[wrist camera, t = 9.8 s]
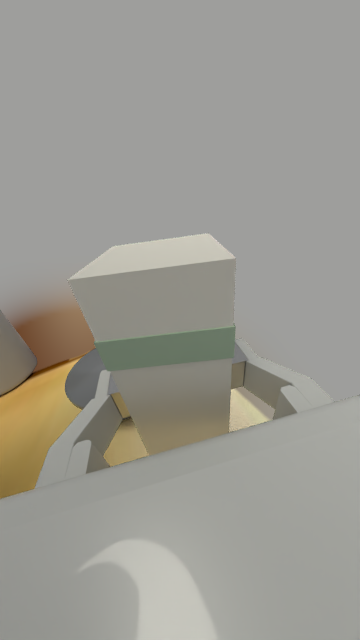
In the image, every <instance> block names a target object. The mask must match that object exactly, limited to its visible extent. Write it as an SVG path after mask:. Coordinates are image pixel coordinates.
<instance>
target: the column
mask: <svg viewBox="0 0 360 640" xmlns="http://www.w3.org/2000/svg"><path fill="white" fill-rule="evenodd" d="M235 270H236V258H235V257H234V256H233V255H232V254H231V253H230V252H229V251H228V250H226V249H225V248H224V247H223V246H222V245H221V244H220V243H218V241H216V240H215V239H214V238H213V237H212V236H211V235H210V234H200V235H192V236H185V237H178V238H170V239H163V240H156V241H149V242H141V243H134V244H126V245H119V246H113V247H112V248H110V249H109V250H107V251H106V252H105V253H103V254H102V255H101V256H99V257H98V258H97V259H95V260H94V261H92V262H91V263H90V264H88V265H87V266H86V267H84V268H83V269H81V270H80V271H79V272H77V273H76V274H75V275H73V276H72V277H71V278H69V279H68V280H67V281H68V283H69V285H70V287H71V289H72V291H73V293H74V296H75V298H76V300H77V302H78V304H79V306H80V308H81V311H82V313H83V315H84V317H85V319H86V321H87V323H88V325H89V328H90V330H91V332H92V334H93V336H94V338H95V342H94V344H95V347H96V349H97V351H98V353H99V355H100V357H101V359H102V361H103V363H104V365H105V368H106V370H107V371H110V373H111V375H112V377H113V379H114V381H115V383H116V386H117V388H118V390H119V392H120V394H121V396H122V398H123V401H124V403H125V405H126V407H127V409H128V411H129V413H130V416H131V418H132V420H133V422H134V424H135V426H136V428H137V430H138V433H139V435H140V437H141V439H142V441H143V443H144V445H145V448H146V450H147V452H148V454H149V456H150V455H153V454H157V453H160V452H164V451H167V450H171V449H174V448H178V447H181V446H184V445H188V444H191V443H195V442H198V441H202V440H205V439H209V438H212V437H216V436H219V435H222V434H226V433H229V419H230V395H231V370H232V358H234V348H235V325H234V323H233V320H234V295H235Z"/></svg>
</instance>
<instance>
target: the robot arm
mask: <svg viewBox="0 0 360 640" xmlns="http://www.w3.org/2000/svg"><path fill="white" fill-rule="evenodd" d="M243 386H244V388H246V389H247V390H248V391H250V392H251V393H253V394H254V395H255V396H257V397H258V398H260V399H261V400H263V401H264V402H265V403H267V404H268V405H270V406H271V407H272V408H274V409H275V413H274V416H273V420H271V421H268V422H264V423H261V424H257V425H254V426H250V427H247V428H243V429H240V430H236V431H233V432H229V433H226V434H222V435H219V436H216V437H212V438H209V439H205V440H202V441H198V442H195V443H191V444H188V445H184V446H181V447H178V448H174V449H171V450H167V451H164V452H160V453H157V454H153V455H150V456H146V457H143V458H140V459H136V460H133V461H129V462H126V463H122V464H119V465H115V466H112V467H110V466H109V464H108V463H107V462H106V460H105V459H104V458H103V455H104V453H105V451H106V450H107V448H108V446H109V444H110V442H111V440H112V438H113V436H114V435H115V433H116V431H117V429H118V427H119V425H120V423H121V421H122V420H123V419H122V418H125V417H128V416H130V413H129V411H128V409H127V407H126V405H125V403H124V401H123V398H122V396H121V394H120V392H119V390H118V388H117V386H116V383H115V381H114V379H113V377H112V375H111V373H110V371H107V370H103V371H101V373H100V376H99V381H98V386H97V390H96V395H95V399H91V401H90V402H89V403H88V404H87V405H86V406H85V408H84V409H83V410H82V411H81V412H80V413H79V415H78V416H77V417H76V418H75V419H74V420H73V422H72V423H71V424H70V425H69V426H68V427H67V429H66V430H65V431H64V432H63V433H62V434H61V436H60V437H59V438H58V439H57V440H56V441H55V443H54V444H53V445H52V446H51V447H50V448H49V450H48V453H47V456H46V458H45V461H44V464H43V467H42V470H41V472H40V475H39V478H38V481H37V483H36V486H35V489H32V490H29V491H25V492H22V493H18V494H15V495H12V496H8V497H5V498H1V499H0V640H360V395H357V396H354V397H351V398H347V399H344V400H340V401H337V402H335V401H334V400H333V399H332V398H331V397H330V396H329V395H328V394H327V393H326V392H325V391H324V390H323V389H322V388H321V387H319V386H318V385H317V384H316V383H315V382H314V381H313V380H312V379H311V378H309V377H306V376H304V375H302V374H299V373H297V372H295V371H293V370H290V369H288V368H286V367H283V366H281V365H279V364H276V363H274V362H272V361H269V360H267V359H264V358H262V357H261V358H259V357H258V356H257V355H256V354H255V352H254V351H253V350H252V349H251V348H250V346H249V345H248V344H247V343H246V342H245V341H244V339H242V338H240V339H236V340H235V348H234V358H232V370H231V389H234V388H238V387H243Z"/></svg>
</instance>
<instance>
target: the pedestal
mask: <svg viewBox="0 0 360 640" xmlns="http://www.w3.org/2000/svg"><path fill="white" fill-rule="evenodd" d="M103 370H106V368H105V365H104V363H103V361H102V359H101V357H100V355H99V353H98V351H97V349H96V348H95V349H94V350H92V351H90V352H89V353H87V354H86V355H85V356H83V357H82V358H81V359H80V360H79V361H78V362H77V363H76V364H75V365H74V367H73V368H72V369H71V371H70V372H69V374H68V376H67V379H66V382H65V392H66V395H67V397H68V398H69V400H70V401H71V402H72V403H73V405H75V406H76V407H77V408H80V409H82V410H83V409H84V408H85V406H86V405H87V404H88V403H89V402H90V401H91V399H95V395H96V390H97V386H98V381H99V376H100V373H101V371H103ZM130 417H131V416H128V417H125V418H122V419H123V420H125V419H128V418H130Z"/></svg>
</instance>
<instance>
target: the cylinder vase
mask: <svg viewBox="0 0 360 640" xmlns="http://www.w3.org/2000/svg"><path fill="white" fill-rule="evenodd" d="M36 365H37V358H36V356H35V355H34V354H33V352H32V351H31V350H30V348H29V347H28V346H27V345H26V343H25V342H24V341H23V339H22V338H21V337H20V335H19V334H18V333H17V331H16V330H15V329H14V327H13V326H12V325H11V323H10V322H9V321H8V319H7V318H6V317H5V316H4V314H3V313H2V312H1V310H0V395H2V394H4V393H6V392H8V391H10V390H12V389H13V388H15V387H16V386H18V385H19V384H20V383H22V382H23V381H24V380H25V379H26V378H27V377H28V376H29V375H30V374H31V373H32V372H33V370H34V369H35V367H36Z"/></svg>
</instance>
